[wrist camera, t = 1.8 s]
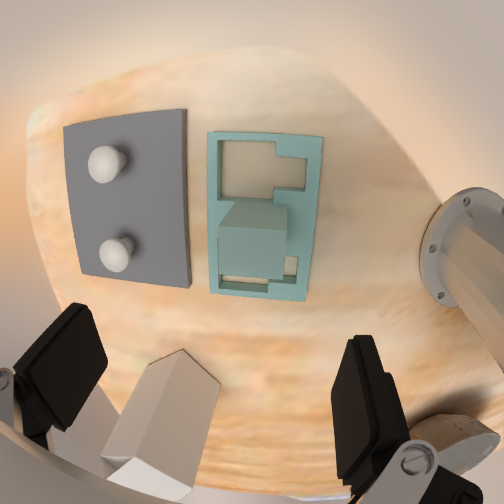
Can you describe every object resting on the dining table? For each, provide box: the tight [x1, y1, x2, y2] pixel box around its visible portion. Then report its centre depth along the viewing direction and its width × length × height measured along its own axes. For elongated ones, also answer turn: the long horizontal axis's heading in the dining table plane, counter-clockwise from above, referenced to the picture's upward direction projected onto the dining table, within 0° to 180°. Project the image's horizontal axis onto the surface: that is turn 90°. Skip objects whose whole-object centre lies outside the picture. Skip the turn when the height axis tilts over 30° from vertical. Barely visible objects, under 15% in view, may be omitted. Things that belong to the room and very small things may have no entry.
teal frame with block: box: [207, 132, 323, 302], centre depth 21 cm, size 9×14×7 cm, turn 178°
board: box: [63, 109, 192, 288], centre depth 23 cm, size 13×16×4 cm
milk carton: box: [100, 350, 220, 502], centre depth 25 cm, size 7×7×19 cm
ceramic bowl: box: [409, 414, 500, 476], centre depth 30 cm, size 22×23×10 cm
